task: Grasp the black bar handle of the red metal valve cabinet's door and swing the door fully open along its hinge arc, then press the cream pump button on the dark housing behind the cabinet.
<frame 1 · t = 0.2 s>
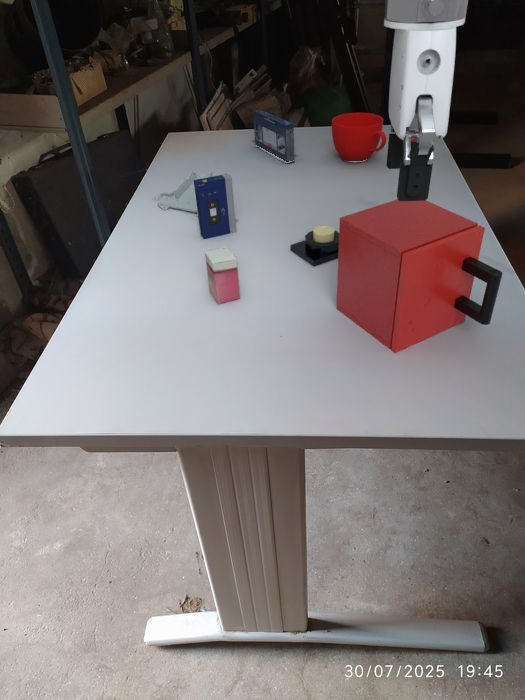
hand: (405, 182, 62), 26 cm above the table, tool pointing down, fingers open, 9 cm apart
pump button: (323, 234, 102), point 3 cm above the table, slide at 0.1 cm
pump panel: (323, 251, 104), on the table
ceramic cup: (360, 161, 142), on the table
metal bracket: (199, 202, 126), on the table
vhs cassette tape: (274, 155, 150), on the table
door: (451, 299, 74), point 8 cm above the table, hinge at 0.0°
small box: (225, 295, 93), on the table
valve cabinet: (395, 313, 86), on the table
cassette player: (219, 234, 112), on the table
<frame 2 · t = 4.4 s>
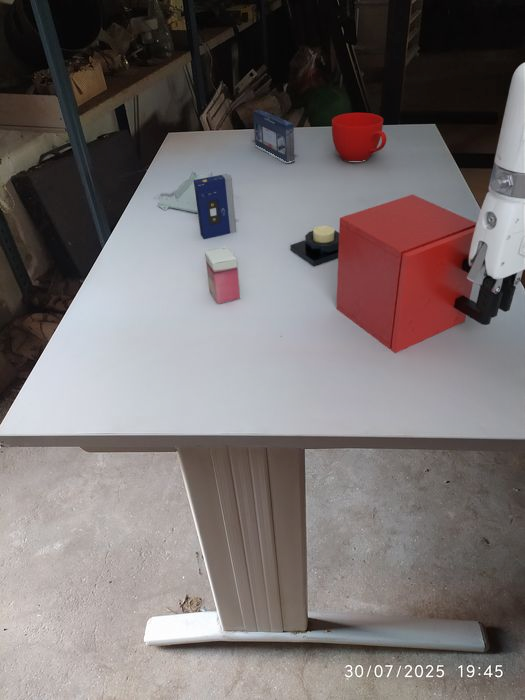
hand: (492, 308, 74), 7 cm above the table, tool pointing down, fingers closed on door
door: (451, 299, 74), point 8 cm above the table, hinge at 0.1°, touching gripper
everything else where it was.
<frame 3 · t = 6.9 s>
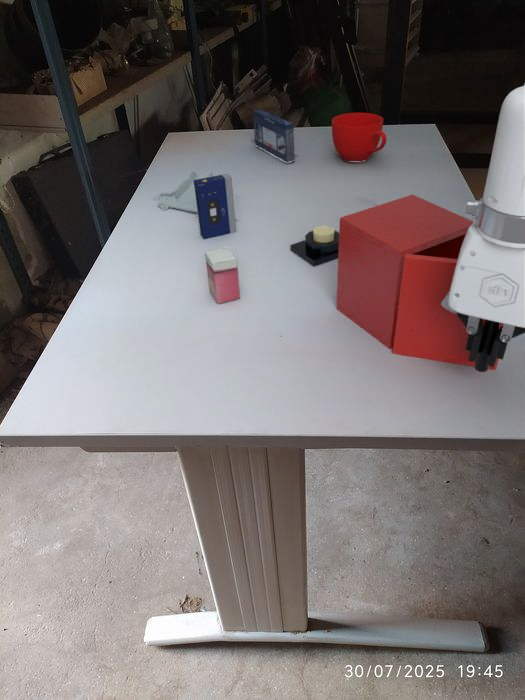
hand: (483, 357, 67), 7 cm above the table, tool pointing down, fingers closed on door
door: (450, 326, 70), point 8 cm above the table, hinge at 49.5°, touching gripper
everything else where it was.
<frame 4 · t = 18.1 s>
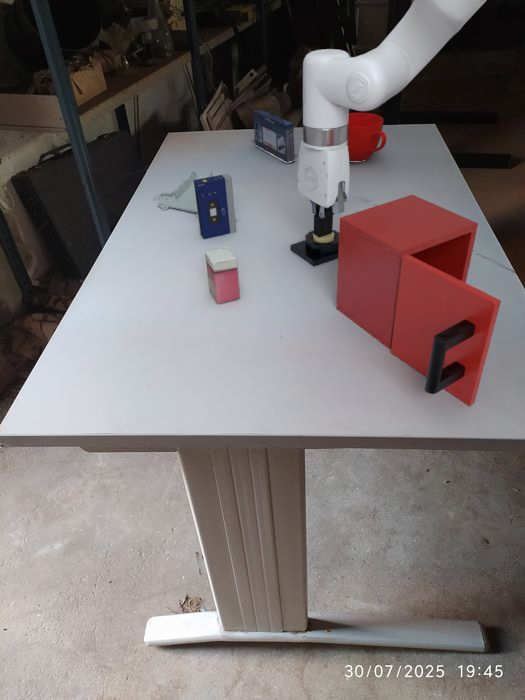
hand: (322, 234, 102), 4 cm above the table, tool pointing down, fingers closed
pump button: (323, 238, 102), point 3 cm above the table, slide at -0.7 cm, touching gripper
door: (422, 338, 68), point 8 cm above the table, hinge at 86.4°
everything else where it was.
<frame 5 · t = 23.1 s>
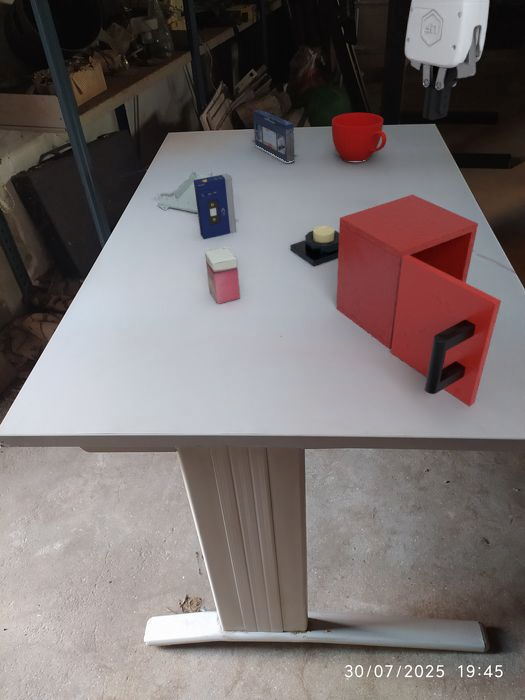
hand: (434, 117, 77), 27 cm above the table, tool pointing down, fingers closed
pump button: (323, 234, 102), point 3 cm above the table, slide at 0.1 cm
everything else where it was.
at the end: door at +86° (first picture: +0°); pump button pushed in 1.1 cm at the most during the clip, back to where it started at the end; pump button slide at 0.1 cm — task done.
